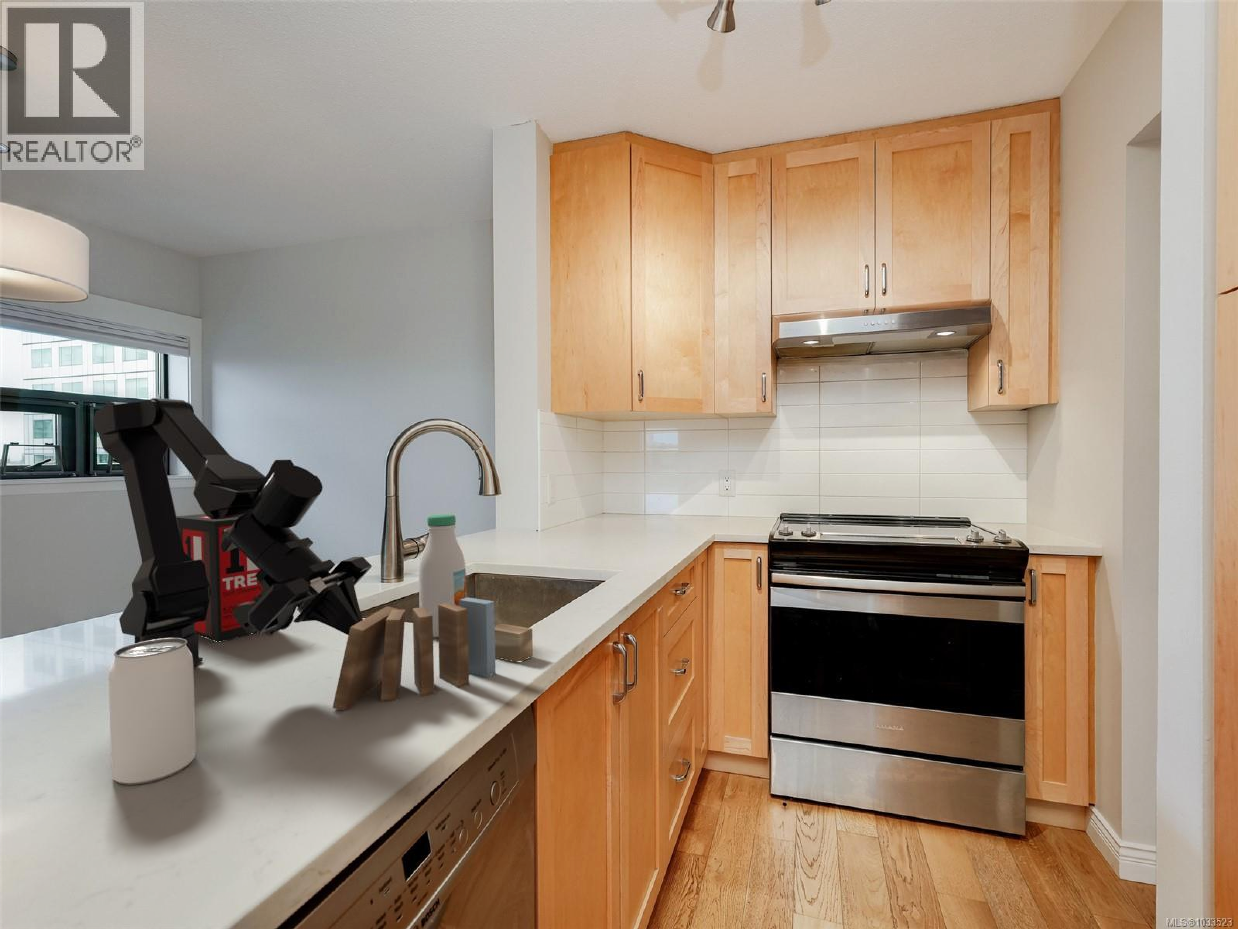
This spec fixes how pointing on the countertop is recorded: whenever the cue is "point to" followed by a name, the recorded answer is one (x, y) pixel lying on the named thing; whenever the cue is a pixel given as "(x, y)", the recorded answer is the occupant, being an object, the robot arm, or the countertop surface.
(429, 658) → the domino
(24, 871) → the countertop surface
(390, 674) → the domino
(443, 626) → the domino
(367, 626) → the domino
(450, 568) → the milk bottle
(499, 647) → the block
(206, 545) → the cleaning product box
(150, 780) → the can
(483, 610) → the domino
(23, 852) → the countertop surface
